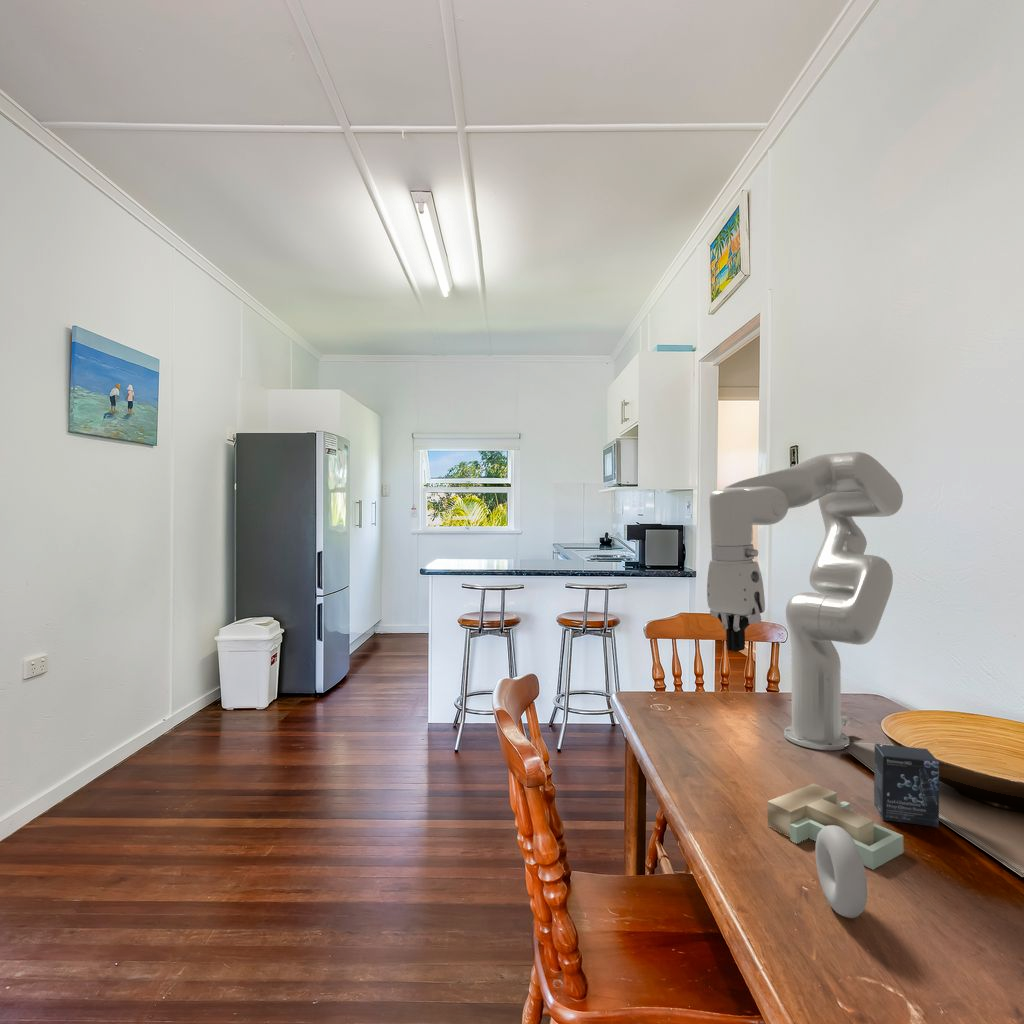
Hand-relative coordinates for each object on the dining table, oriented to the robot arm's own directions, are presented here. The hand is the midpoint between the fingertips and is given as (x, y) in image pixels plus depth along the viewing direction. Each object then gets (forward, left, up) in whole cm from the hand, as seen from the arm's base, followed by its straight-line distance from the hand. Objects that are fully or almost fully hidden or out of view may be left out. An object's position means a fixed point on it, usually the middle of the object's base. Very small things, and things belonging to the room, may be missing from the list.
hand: (736, 649), depth 116 cm
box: (-9, +26, -23) cm, 36 cm away
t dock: (+7, +26, -23) cm, 35 cm away
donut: (+23, +34, -23) cm, 47 cm away
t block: (+7, +22, -23) cm, 33 cm away
